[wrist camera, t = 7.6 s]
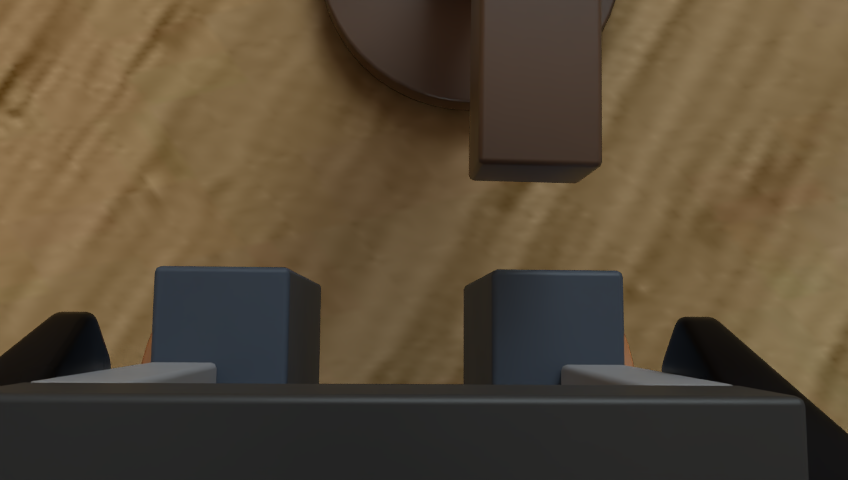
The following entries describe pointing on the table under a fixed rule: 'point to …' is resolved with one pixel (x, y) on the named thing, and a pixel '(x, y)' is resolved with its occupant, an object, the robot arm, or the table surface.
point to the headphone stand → (495, 75)
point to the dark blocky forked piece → (393, 397)
